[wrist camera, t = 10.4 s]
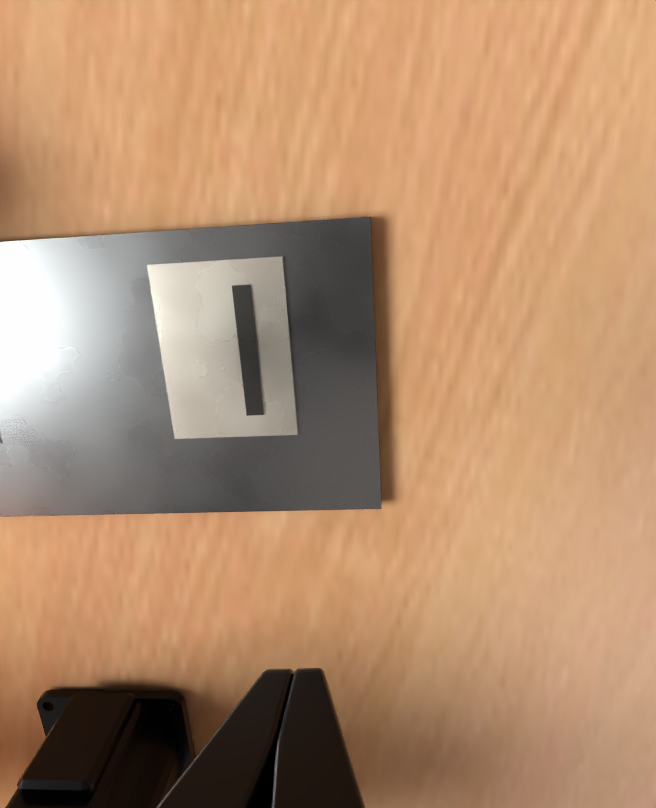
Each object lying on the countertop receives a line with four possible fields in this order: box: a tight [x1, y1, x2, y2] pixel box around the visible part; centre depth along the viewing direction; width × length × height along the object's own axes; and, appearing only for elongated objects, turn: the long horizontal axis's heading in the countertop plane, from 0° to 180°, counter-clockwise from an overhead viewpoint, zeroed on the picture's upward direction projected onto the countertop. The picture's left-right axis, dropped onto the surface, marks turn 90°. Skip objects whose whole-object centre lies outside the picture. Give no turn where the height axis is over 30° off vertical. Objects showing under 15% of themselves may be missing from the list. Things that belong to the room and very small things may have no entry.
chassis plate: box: [0, 217, 381, 517], centre depth 19 cm, size 10×22×1 cm, turn 93°
